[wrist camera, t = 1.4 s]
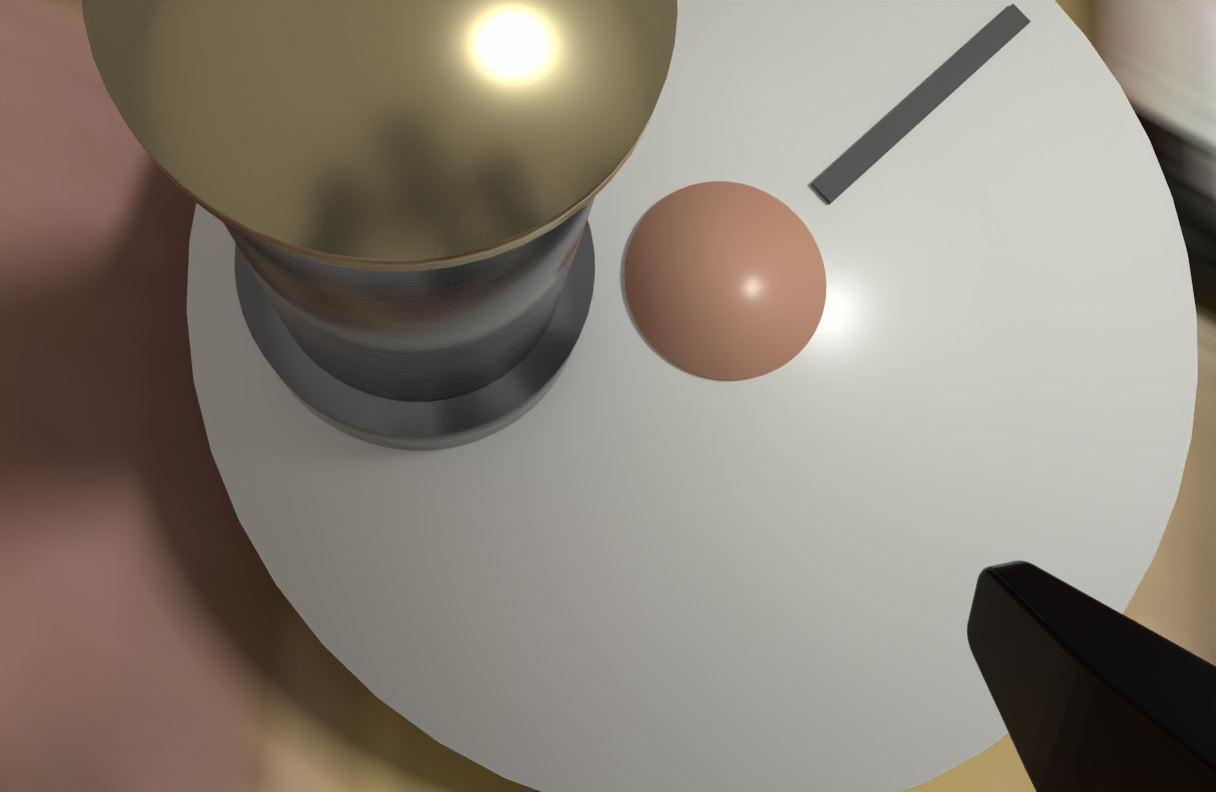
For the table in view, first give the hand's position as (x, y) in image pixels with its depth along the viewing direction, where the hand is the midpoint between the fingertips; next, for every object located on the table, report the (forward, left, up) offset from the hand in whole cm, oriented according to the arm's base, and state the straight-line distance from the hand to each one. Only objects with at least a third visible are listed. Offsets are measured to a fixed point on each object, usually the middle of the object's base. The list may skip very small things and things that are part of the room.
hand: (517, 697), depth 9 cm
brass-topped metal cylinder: (+4, +6, -11) cm, 13 cm away
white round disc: (+9, +2, -12) cm, 15 cm away
